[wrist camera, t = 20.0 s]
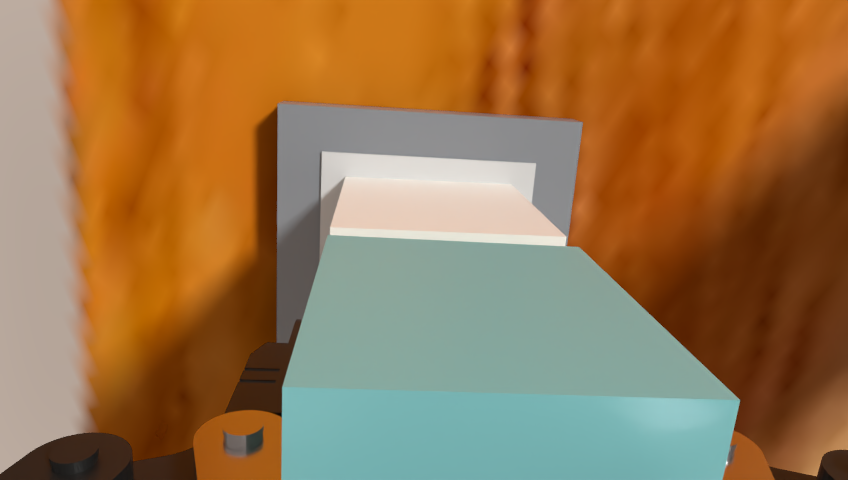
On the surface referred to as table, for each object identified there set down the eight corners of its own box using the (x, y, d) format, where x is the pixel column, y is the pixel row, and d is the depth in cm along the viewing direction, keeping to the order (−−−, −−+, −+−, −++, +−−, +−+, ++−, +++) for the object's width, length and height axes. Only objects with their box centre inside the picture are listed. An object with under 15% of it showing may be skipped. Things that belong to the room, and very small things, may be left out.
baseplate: (571, 118, 20) (584, 122, 19) (539, 376, 23) (548, 394, 21) (283, 101, 20) (277, 103, 18) (282, 368, 22) (275, 386, 21)
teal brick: (579, 246, 13) (740, 400, 7) (548, 463, 14) (664, 740, 8) (327, 235, 12) (282, 386, 7) (321, 458, 14) (278, 745, 8)
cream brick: (511, 184, 19) (566, 236, 14) (496, 336, 21) (541, 442, 15) (345, 176, 19) (329, 227, 13) (341, 332, 20) (325, 439, 15)
